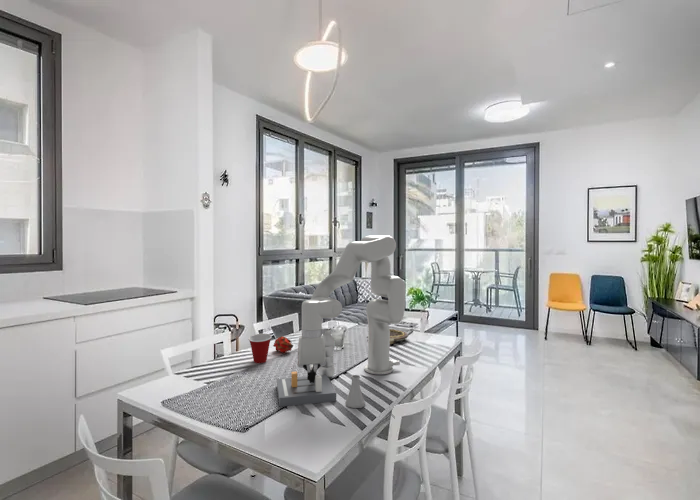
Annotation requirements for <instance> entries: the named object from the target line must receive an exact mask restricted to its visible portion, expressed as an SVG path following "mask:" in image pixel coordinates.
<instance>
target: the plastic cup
mask: <svg viewBox="0 0 700 500" xmlns="http://www.w3.org/2000/svg"><path fill="white" fill-rule="evenodd" d="M272 336H273V335H272V334H269V333H256V334H252V335H250V336H249V337H248V341H249V344H250V348H251V353H252V359H253V363H254V364H265V363H266V362H267V361H268V355H269V350H270V344H271V339H272V338H273V337H272Z"/></svg>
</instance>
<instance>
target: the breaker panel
mask: <svg viewBox="0 0 700 500" xmlns="http://www.w3.org/2000/svg"><path fill="white" fill-rule="evenodd" d="M312 368H313V364H310V369H311V370H312ZM335 389H336V388H334V385H333V384H332V381H331V380H330V377H329V378H328V376H327V375H319V374H318V375H316V376H315V380H314V383H313V382H312V383H310V382H309V380H308V379H307V376H297V387H292V386H291V377H287V378H286V377H284V378H276V391H277V397H278V405H279V407H280V408H281V407H290V406H301V405H311V404H319V403H329V402H337V390H335Z"/></svg>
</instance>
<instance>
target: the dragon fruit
mask: <svg viewBox="0 0 700 500" xmlns="http://www.w3.org/2000/svg"><path fill="white" fill-rule="evenodd" d="M272 346H273V347H274V348H275V351H276V352H277V353H278V352H281V354H283V355H284V354H285V355H286V354H287V352H291V350H292V349H293V347H294V344H293V343H292V341H291V340H290V339H289V338H288V337H286V336H278V337H277V338H276V339H275V340H274V343H273V344H272ZM292 351H293V350H292Z"/></svg>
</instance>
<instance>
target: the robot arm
mask: <svg viewBox="0 0 700 500" xmlns="http://www.w3.org/2000/svg"><path fill="white" fill-rule="evenodd" d="M396 248H397V243H396V240H395V238H394V237H393V236H391V235H386V234H385V235H384V234H383V235H377V234H372V235H370V234H369V235H365V236H363V237H362V238H361V239H360V240H359V241H358V240H357V241H356V240H355V241H350V242H349V243H348V244H347V245H346V246H345V248H344V249H343V252H342V254H341V255H340V257H339V260H338V262H337V264H336V265H335V268H334V270H333V271H332V272H330V273H329V274H327V276H325V278H323V280H322V281H321V282H320V283H319V284H318V285H317V286H316V288H315V289H314V291H313V294H312V295H311V296H310V299H306V300H304V301H302V303H301V335H300V336H299V338H298V345H297V368H301V369H304V370H305V371H306V372H307V375H306V377H307V379H308V380H309V382H310V383H312V382H313V383H314V380H315V376H317V371H319V367H321V366H324V365H326V362H325V358H326V357H325V343H324V337H323V333H326V330H325V329H326V328H323V320H324V319H334V318H337V317H339V316H340V315H341V314H342V311H343V304H342V302H340V301H339V300H338V299H336V298H332V297H330V295H331V294H332V293H333V292H334V291H335V290H336V289H338V288H339V287H342V286H345V285H347V284H349V283H351V282H353V281H354V279H355V276H356V274H357V272H358V270H359V267H361V264H362V263H370V268H371V269H370V270H371V271H370V291H371V293H372V294H373V295H375V296H377V297H384V298H387V299H382V298H374V299H371V300H369V301H368V303H367V304H366V306H365V307H366V308H365V313H366V318H367V327H368V330H367V333H368V335H367V336H368V337H367V364H365V365H364V367H363V368H364V369H363V370H364V371H365V372H366V373H368V374H371V375H378V376H379V375H388V374H391V373H392V372H394V371H393V369H394V368H393V367H394V366H400V365H401V363H400V360H395V359H390V349H391V348H390V347H391V344H390V329H391V328H390V325H398V324H400V323H401V322H402V320H403V319H404V315H405V308H406V307H405V304H406V303H405V302H406V300H405V299H406V285H405V281H404V279H402V278H401V277H399V276H397V275H391V261H390V258H389V257H390V256H391V255H393V254H394V252H395V251H396ZM322 319H323V320H322ZM389 324H390V325H389ZM311 365H313V368H312V370H311V369H310V366H311Z"/></svg>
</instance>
